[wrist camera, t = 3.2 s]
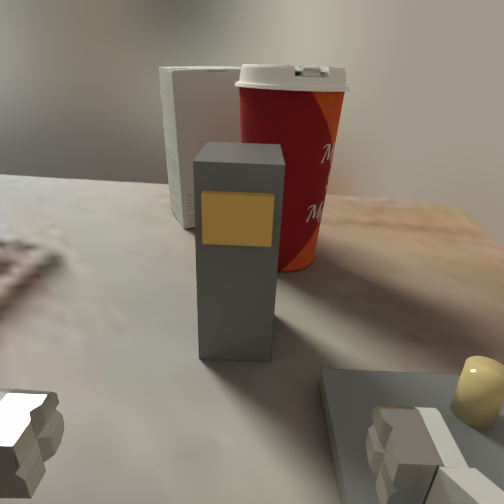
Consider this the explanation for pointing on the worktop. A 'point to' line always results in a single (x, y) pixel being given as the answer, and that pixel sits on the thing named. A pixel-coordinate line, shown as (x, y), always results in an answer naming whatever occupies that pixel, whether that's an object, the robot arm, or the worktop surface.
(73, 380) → the worktop surface
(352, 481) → the slate board
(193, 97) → the skincare box
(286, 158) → the coffee cup
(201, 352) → the plug block
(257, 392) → the worktop surface
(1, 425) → the robot arm
